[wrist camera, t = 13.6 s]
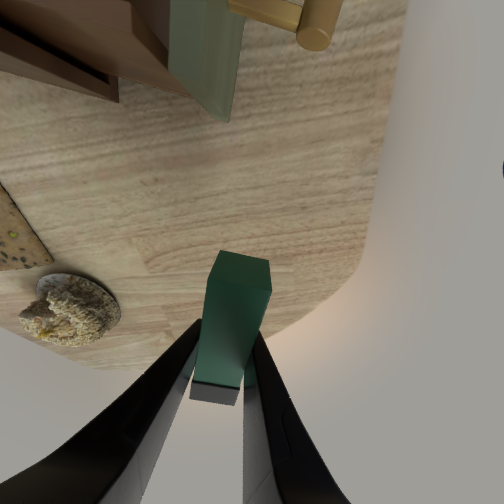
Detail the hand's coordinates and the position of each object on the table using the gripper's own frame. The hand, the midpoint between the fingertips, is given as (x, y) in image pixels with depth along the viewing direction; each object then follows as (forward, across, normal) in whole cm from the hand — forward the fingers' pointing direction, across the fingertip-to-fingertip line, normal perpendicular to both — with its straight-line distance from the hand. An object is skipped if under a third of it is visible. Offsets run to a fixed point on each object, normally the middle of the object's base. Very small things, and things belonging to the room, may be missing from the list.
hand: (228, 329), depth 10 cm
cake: (+11, +19, +13) cm, 25 cm away
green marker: (+1, 0, 0) cm, 1 cm away
